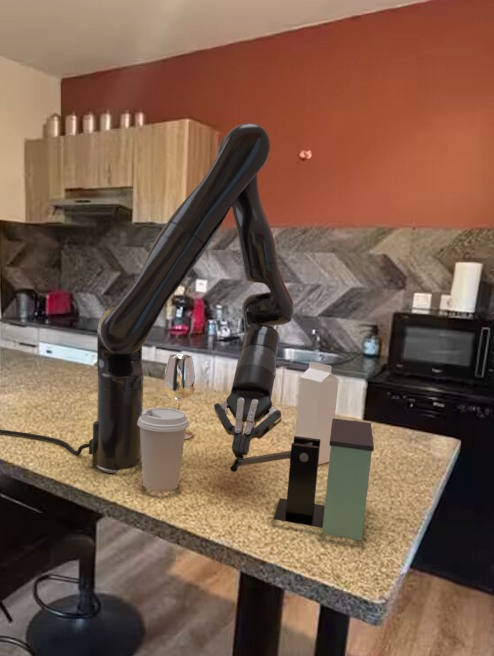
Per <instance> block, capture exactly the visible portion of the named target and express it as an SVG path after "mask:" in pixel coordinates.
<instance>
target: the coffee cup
mask: <svg viewBox="0 0 494 656" xmlns="http://www.w3.org/2000/svg"><path fill="white" fill-rule="evenodd" d="M137 425H138V426H139V427H140V438H141V473H142V475H141V476H142V485H143V487H144V488H146V489H147V490H150V491H154V492H170V491H173V490H176V489H177V488H178V487H179V483H180V482H179V481H180V476H181V467H182V459H183V453H184V447H185V440H186V439H185V433H186V431H187V429H188V428H189V426H190V423H189V420H188V418H187V417H186V413H185V412H184V411H183V410H181V409H180V410H178V409H177V408H172V407H149V408H146V409H144V410H142V414H141V416H140V417H139V419H138V422H137Z"/></svg>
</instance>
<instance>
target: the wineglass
mask: <svg viewBox="0 0 494 656" xmlns="http://www.w3.org/2000/svg"><path fill="white" fill-rule="evenodd" d="M195 373H196V372H195V366H194V361H193V356H192V355H191V354H190V355H189V354H184V353H183V354H182V353H175V354H170V355H168V360H167V363H166V366H165V371H164V376H163V382H162V384H163V385H162V386H163V391H164V393H165V395H166V396H167V397H168V398H169V399H170V400H171V401H173V402H175V406H176V409H178V410H181V404H182V403H183V402H185V401H187V400H189V399H190V398H191V397H192V396H193V394H194V393H195V390H196V374H195ZM192 437H193V434H192V433H191V432H190V431H188V430H186V433H185V440H188V439H190V438H191V439H192Z"/></svg>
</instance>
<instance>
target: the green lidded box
mask: <svg viewBox="0 0 494 656" xmlns="http://www.w3.org/2000/svg"><path fill="white" fill-rule="evenodd" d="M329 445H330V446H331V448H330V458H329V462H328V470H327V479H326V480H327V481H326V491H325V500H324V506H325V510H324V520H323V528H322V530H321V535H327V536H332V537H339V538H344V539H350V540H354V541H363V536H364V535H363V534H364V528H365V527H364V526H365V516H366V507H367V498H368V490H369V482H370V481H369V480H370V472H371V462H372V453H373V452H374V450H375V449H374V448H375V444H374V437H373V429H372V423H371V422H366V421H358V420H351V419H341V418H335V419H334V418H333V419H332V427H331V435H330V444H329Z"/></svg>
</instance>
